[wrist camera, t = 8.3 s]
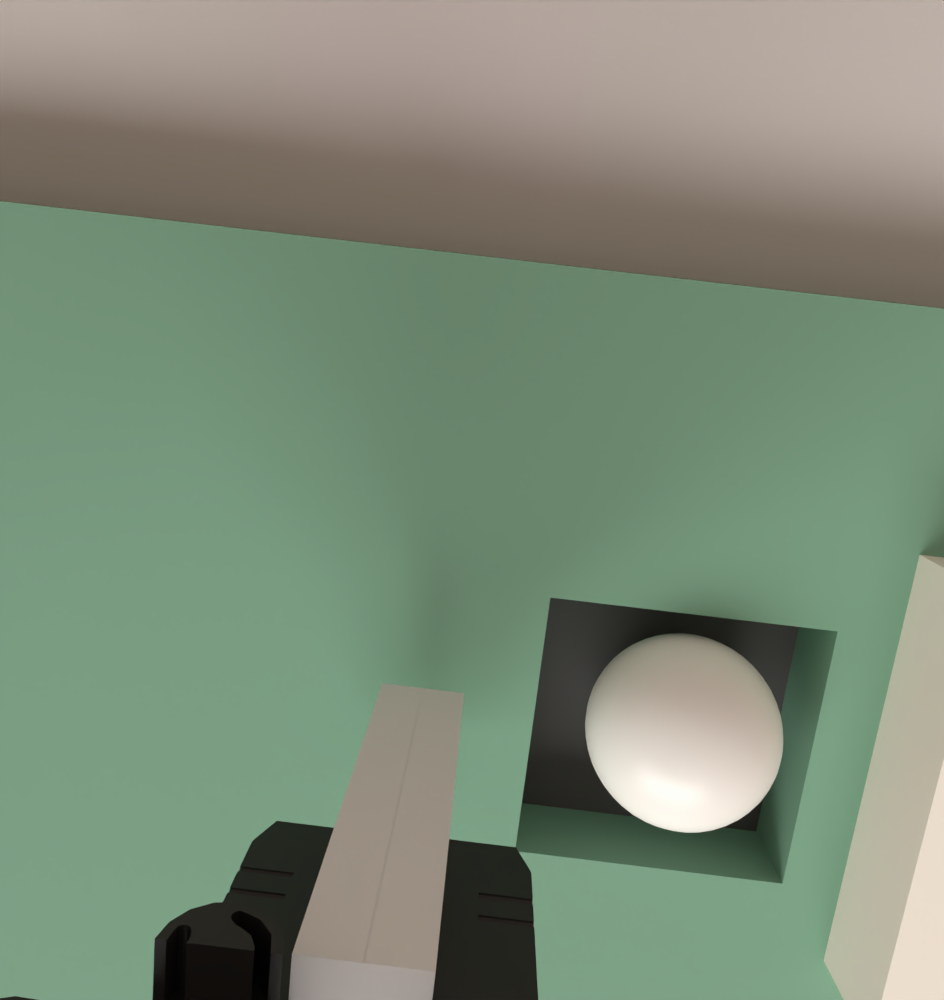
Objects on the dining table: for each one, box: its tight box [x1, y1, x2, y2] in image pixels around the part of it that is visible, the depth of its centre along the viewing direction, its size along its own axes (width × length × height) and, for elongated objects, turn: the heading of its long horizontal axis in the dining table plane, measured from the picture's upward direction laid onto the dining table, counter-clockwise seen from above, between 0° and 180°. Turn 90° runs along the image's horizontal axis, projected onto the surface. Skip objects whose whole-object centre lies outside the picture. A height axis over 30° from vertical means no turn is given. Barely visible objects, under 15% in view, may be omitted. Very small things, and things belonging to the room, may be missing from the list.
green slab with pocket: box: [0, 201, 944, 1000], centre depth 17 cm, size 34×18×4 cm, turn 84°
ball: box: [585, 633, 783, 833], centre depth 16 cm, size 4×4×4 cm
